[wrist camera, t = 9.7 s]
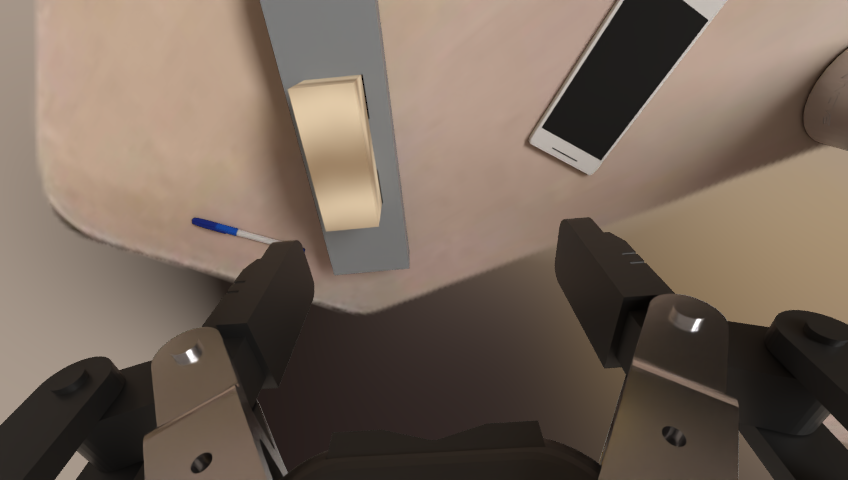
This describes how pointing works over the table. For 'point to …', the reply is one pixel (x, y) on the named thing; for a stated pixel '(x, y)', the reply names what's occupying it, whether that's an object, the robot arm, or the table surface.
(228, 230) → the ballpoint pen
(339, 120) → the tan rectangular block
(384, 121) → the slotted rail
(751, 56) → the table surface
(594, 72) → the smartphone
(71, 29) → the table surface
